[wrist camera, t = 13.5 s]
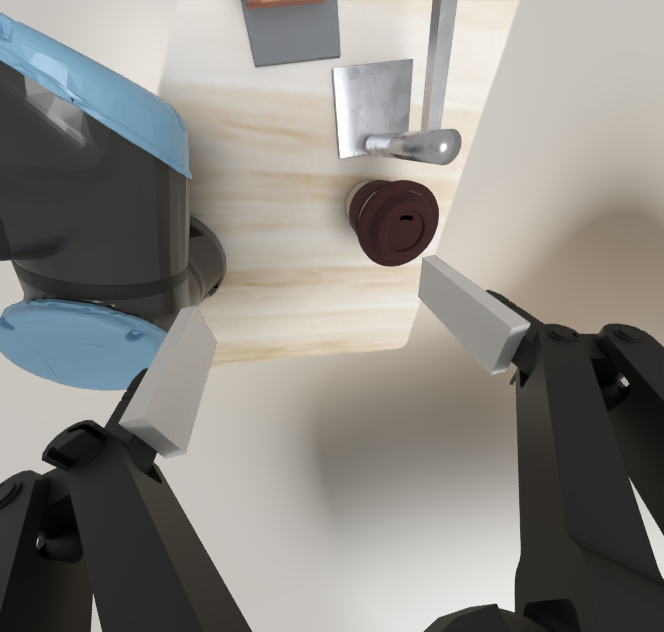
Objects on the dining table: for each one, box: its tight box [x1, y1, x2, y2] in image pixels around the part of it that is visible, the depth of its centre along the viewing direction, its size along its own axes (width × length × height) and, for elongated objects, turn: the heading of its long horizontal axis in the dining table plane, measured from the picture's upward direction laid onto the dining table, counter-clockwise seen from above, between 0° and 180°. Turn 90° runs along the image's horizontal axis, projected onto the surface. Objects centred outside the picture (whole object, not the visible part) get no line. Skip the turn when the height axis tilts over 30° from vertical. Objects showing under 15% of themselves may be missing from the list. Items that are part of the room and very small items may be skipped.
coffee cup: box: [346, 180, 439, 267], centre depth 33 cm, size 10×10×15 cm
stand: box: [332, 0, 461, 165], centre depth 23 cm, size 10×14×19 cm
